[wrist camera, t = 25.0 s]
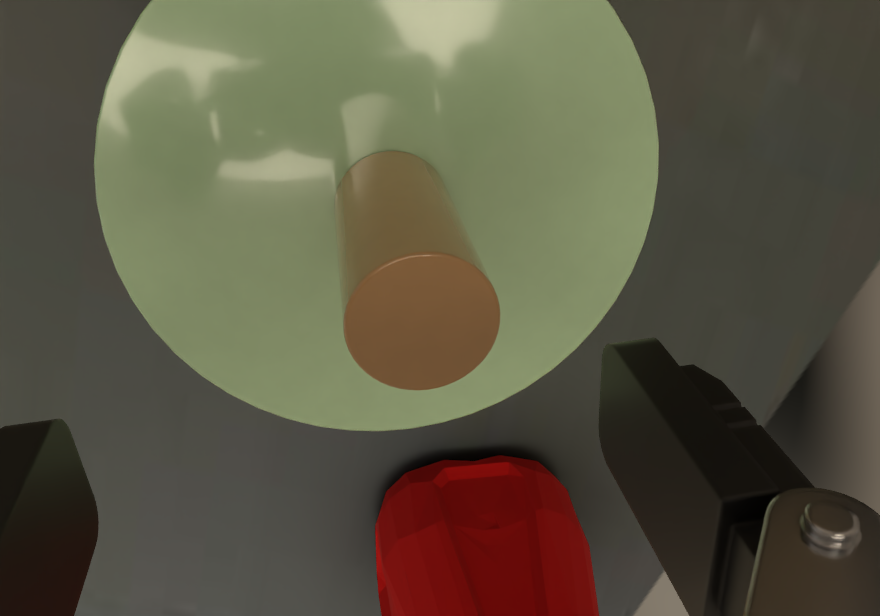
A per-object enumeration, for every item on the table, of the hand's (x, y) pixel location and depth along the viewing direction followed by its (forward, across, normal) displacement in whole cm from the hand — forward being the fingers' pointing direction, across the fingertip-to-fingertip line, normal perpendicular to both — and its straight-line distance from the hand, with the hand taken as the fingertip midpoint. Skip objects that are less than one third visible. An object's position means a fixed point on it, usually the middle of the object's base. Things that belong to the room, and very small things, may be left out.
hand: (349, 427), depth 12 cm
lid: (+7, -2, -1) cm, 7 cm away
